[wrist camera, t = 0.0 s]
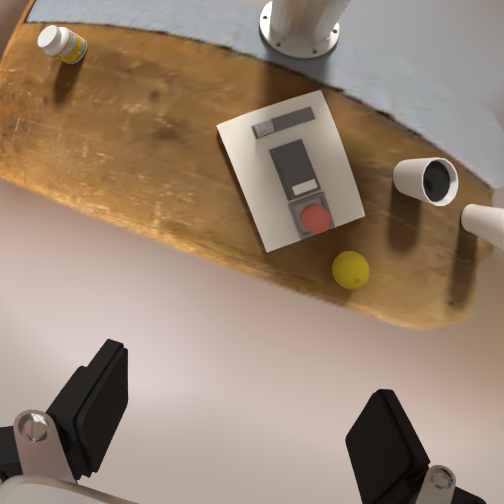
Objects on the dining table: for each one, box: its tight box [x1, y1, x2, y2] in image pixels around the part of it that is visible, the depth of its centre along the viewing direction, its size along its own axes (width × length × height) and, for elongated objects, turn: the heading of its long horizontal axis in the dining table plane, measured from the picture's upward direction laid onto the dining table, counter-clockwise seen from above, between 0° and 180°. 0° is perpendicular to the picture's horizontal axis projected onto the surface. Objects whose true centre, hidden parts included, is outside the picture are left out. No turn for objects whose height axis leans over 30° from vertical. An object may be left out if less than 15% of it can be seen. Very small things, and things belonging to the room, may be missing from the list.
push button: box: [301, 204, 330, 234], centre depth 41 cm, size 4×4×3 cm
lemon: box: [332, 251, 370, 290], centre depth 44 cm, size 6×6×8 cm
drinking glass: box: [461, 204, 504, 251], centre depth 38 cm, size 7×7×15 cm
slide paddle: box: [254, 120, 275, 137], centre depth 38 cm, size 2×2×3 cm
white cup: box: [393, 158, 458, 206], centre depth 39 cm, size 7×7×10 cm
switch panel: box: [216, 90, 365, 253], centre depth 42 cm, size 20×16×4 cm
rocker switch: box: [274, 142, 321, 199], centre depth 39 cm, size 7×4×1 cm, turn 21°
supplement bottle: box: [38, 25, 87, 64], centre depth 32 cm, size 5×5×10 cm
